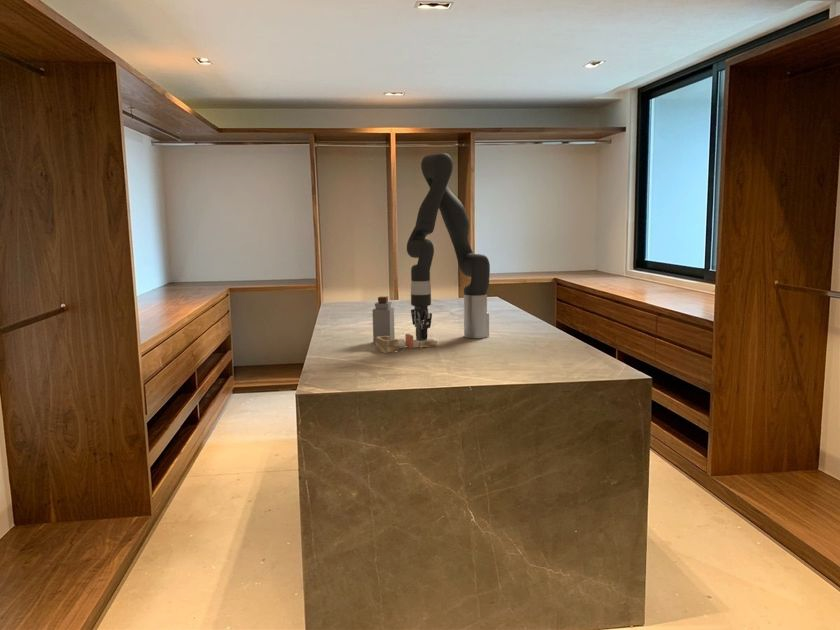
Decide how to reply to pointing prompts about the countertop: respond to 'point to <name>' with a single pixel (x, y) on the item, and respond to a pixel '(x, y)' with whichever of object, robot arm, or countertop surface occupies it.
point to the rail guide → (428, 344)
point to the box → (386, 344)
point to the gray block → (415, 343)
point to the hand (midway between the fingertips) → (421, 337)
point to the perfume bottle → (383, 319)
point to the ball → (401, 343)
